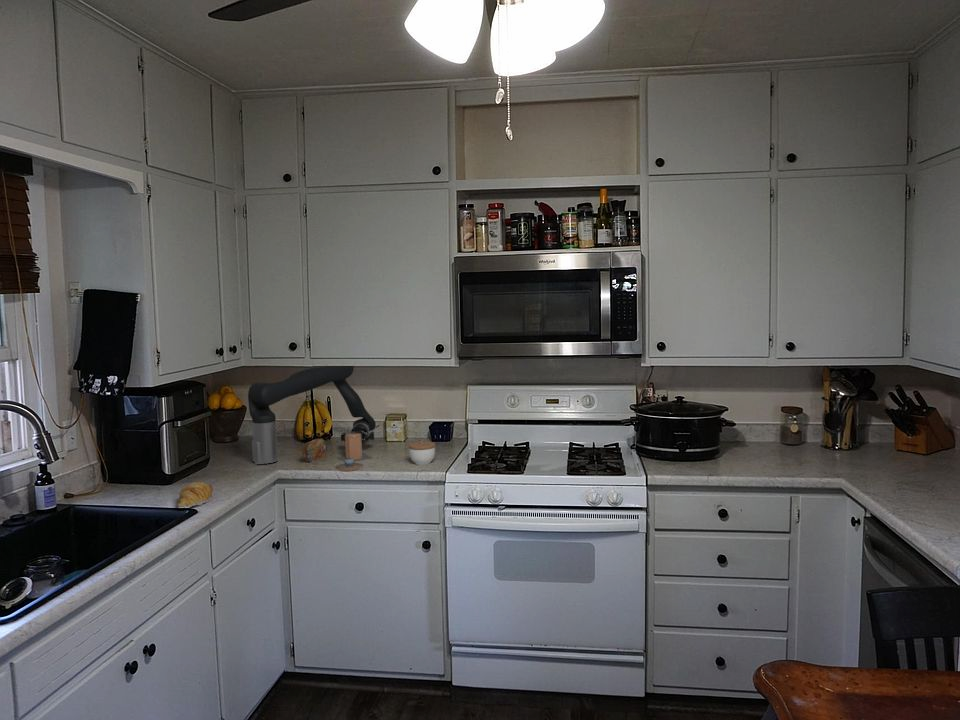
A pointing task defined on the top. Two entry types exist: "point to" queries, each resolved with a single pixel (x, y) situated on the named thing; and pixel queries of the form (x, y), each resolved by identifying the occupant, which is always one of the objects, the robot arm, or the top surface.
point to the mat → (355, 460)
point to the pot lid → (349, 465)
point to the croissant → (194, 494)
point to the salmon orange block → (353, 445)
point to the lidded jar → (422, 452)
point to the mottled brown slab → (314, 450)
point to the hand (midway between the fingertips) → (355, 439)
